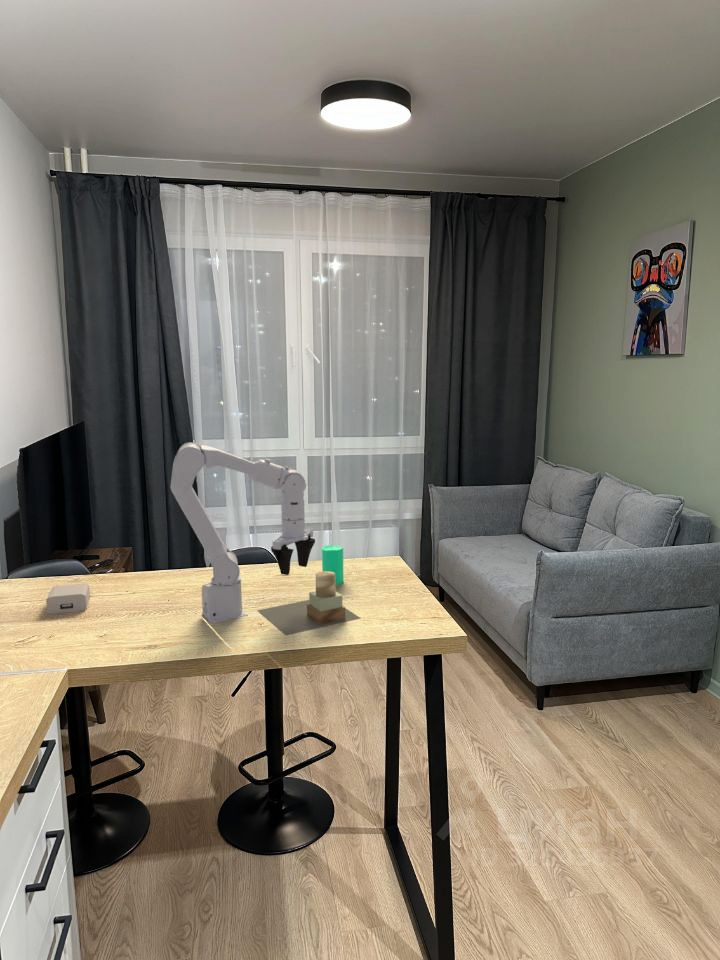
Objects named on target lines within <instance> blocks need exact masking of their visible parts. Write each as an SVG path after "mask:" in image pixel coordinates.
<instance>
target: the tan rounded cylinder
mask: <svg viewBox="0 0 720 960" xmlns="http://www.w3.org/2000/svg"><path fill="white" fill-rule="evenodd" d="M315 591H316V595H317V596H319V597H332V596H334V595H335V594H336V592H337V591H336V585H335V573H334V572H330V571H323V572H322V571H318V572H316V573H315Z"/></svg>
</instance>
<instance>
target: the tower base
mask: <svg viewBox="0 0 720 960" xmlns="http://www.w3.org/2000/svg"><path fill="white" fill-rule="evenodd" d="M345 608H346V606H344V605H343V604H342V607H341V608H336V609H331V610H327V611H322V612H320V611H319V610H317V609H316V608H314V607H313V606H312V605H310V604H309V603H308V604H307V616H309V617H310V618H311V619H313V620H314V621H315V622H317V623H318V624H319V625H321V624H325V623H330V622H334V621H339V620H343V619H345Z"/></svg>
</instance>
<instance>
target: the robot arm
mask: <svg viewBox="0 0 720 960" xmlns="http://www.w3.org/2000/svg"><path fill="white" fill-rule="evenodd" d="M204 465H205V468H206V470H207V469H211V468H214V467H222V468H226V469H229V470H232V471H236V472H239V473H242V474H246V475H249V476H250V478H251V480H252V482H254V483H257V484H260V485H263V486H266V487H269V488H272V489H276V490H280V489H281V501H280V502H281V504H280V505H281V508H280V509H281V510H280V511H281V535H280V536H278V537H277V538H276V539H274V540H272V546H271V548H270V551H271V552H272V554H273V556H274V557H275V559H276V562H277V564H278V568H279V572H280V575H283V576H289V575H290V571H291V559H292V555H293V553H294V548H289V547H288V546H290V545H292V544H295V548H296V554H297V563H298V566H299V567H303V568H307V567H308V562H309V558H310V554H311V551H312V549H313V547H314V545H315V543H316V539H315V538H313V537H314V529H313V528H305V527H306V526H305V523H306V522H305V499H304V496H305V494H304V492H305V490H306V487H307V483H306V480H305V478H304V476H303V475H302V474H301V473H300V471H298V470H296V469H294V468H291V467H290V468H289V466H287V465H284V466H282V465H280V464H275V463H273V462H272V460H271V459H269V458H265V459H258V460H256V461H251V460H248V459H245V458H243V457H240V456H237V455H235V454H233V453H229V452H227V451H224V450H222V449H219V448H216V447H214V446H213V447H212V446H209V445H205V444H204V445H203V444H201V445H199V444H198V443H195V442H192V441H191V442H190V441H189V442H185V443H184V444H182V445H181V446H180V447H179V449H178V450H177V452H176V454H175V456H174V460H173V464H172V470H171V479H170V490H171V493H172V494H173V497H174V498H175V500H176V502H177V503H178V505H179V507H180V508H181V510H182V512H183V514H184V516H185V518H186V519H187V521H188V523H189V524H190V526H191V528H192V530H193V532H194V534H195V535H196V537H197V538H198V541H199V542H200V544H201V546H202V547H203V549H204V551H205V553H206V555H207V557H208V560H209V563H210V565H211V567H212V575H213V577H212V578H211V580H210V581H211V582H209V583H206V584H203V585H202V587H201V604H202V605H201V606H202V607H201V608H202V612H201V614H202V615H203V616H204V617H205V618H206V619H207V620H208V621H209V622H210V623H212V624H213V623H218V622H223V621H228V620H233V619H237V618H242V617H247V616H248V615H249V614H248V613H247V612H246V611H245V610H244V609H243V601H242V599H243V598H242V597H243V595H242V577H241V576H240V574H241V573H240V566H239V565H238V564H239V563H238V557H237V555H236V553H234V551H233V552H232V550H230V549H228V547H227V544H225V542H224V541H223V539H222V538H221V536H220V534H219V533H218V531H217V529H216V527H215V526H214V523H213V522H212V519H211V517H210V516H209V515H208V513H207V512H206V510H205V509H206V508H205V507H204V506H203V504H202V501H200V498H199V497H198V495H197V493H196V491H195V489H194V488H193V484H194V481H195V480H196V479H195V478H196V476H197V475H198V474H199V472H201V470H202V469H203V467H204Z"/></svg>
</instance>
